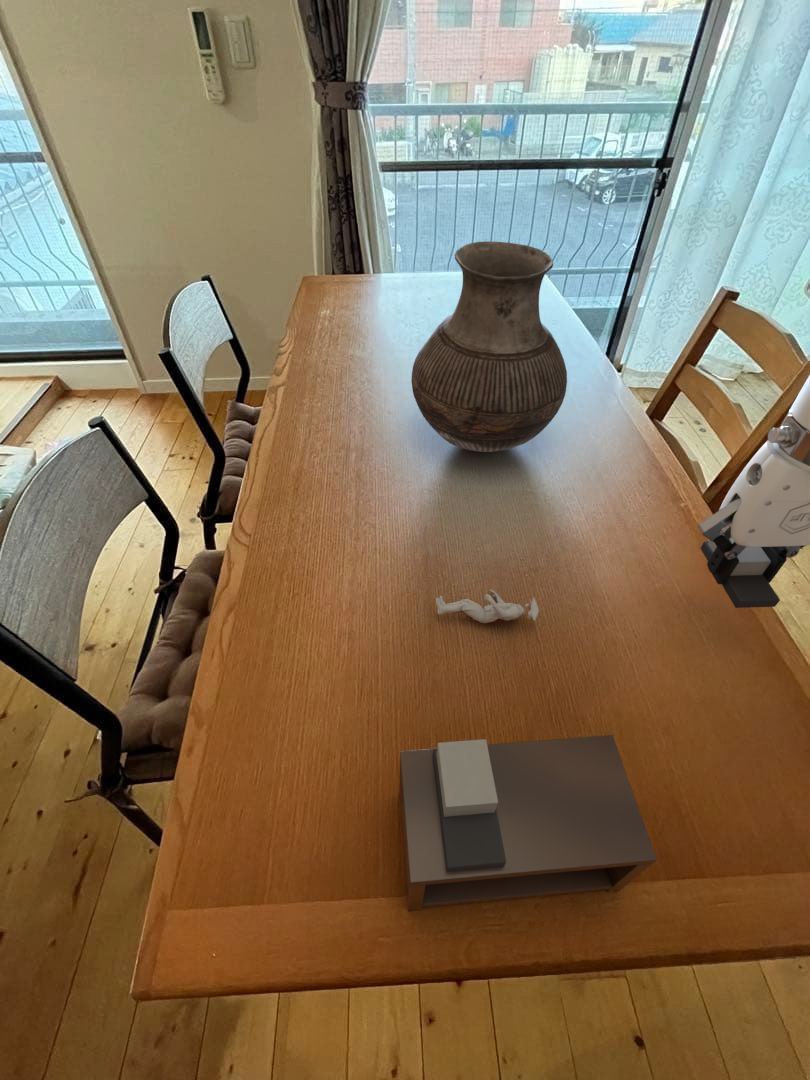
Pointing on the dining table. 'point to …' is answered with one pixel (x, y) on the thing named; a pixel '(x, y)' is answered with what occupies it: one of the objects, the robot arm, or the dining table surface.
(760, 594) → the right slipper
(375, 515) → the dining table surface
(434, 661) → the dining table surface
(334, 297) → the dining table surface
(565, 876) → the shoe rack
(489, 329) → the vase
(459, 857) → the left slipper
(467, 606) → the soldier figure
